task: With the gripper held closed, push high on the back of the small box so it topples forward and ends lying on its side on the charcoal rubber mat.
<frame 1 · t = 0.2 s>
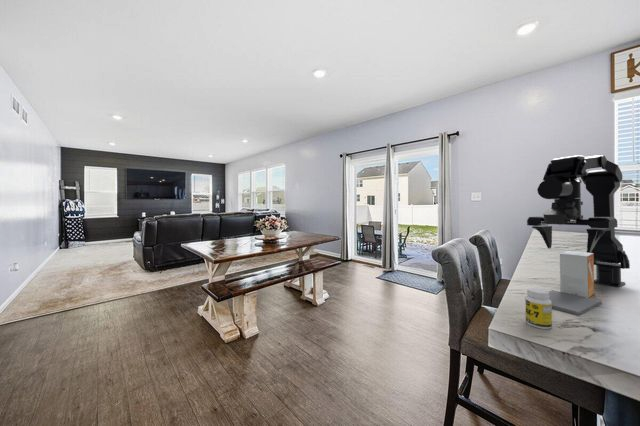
hand: (568, 250, 75), 15 cm above the kitchen island, tool pointing down, fingers open, 9 cm apart
small box: (577, 294, 79), on the kitchen island
mat: (564, 302, 72), on the kitchen island
supplement bottle: (538, 325, 60), on the kitchen island
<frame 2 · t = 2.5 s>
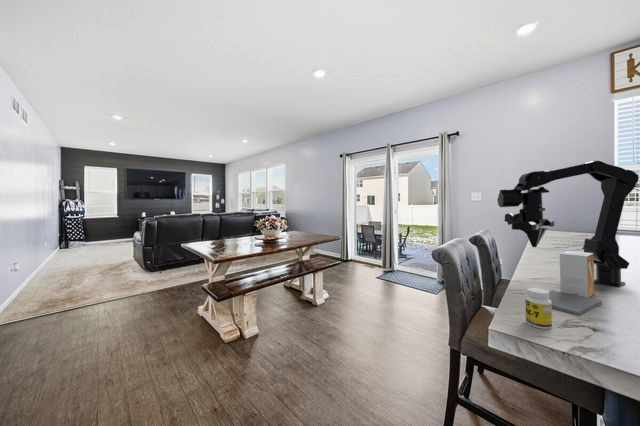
hand: (534, 247, 94), 13 cm above the kitchen island, tool pointing down, fingers closed
nothing on the kitchen island moved.
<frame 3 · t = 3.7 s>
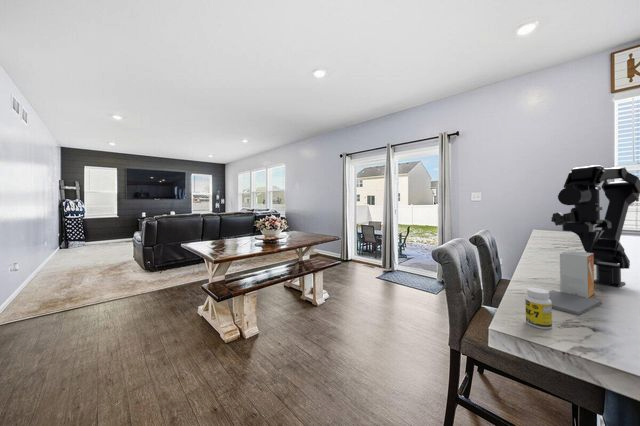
hand: (587, 251, 83), 13 cm above the kitchen island, tool pointing down, fingers closed
nothing on the kitchen island moved.
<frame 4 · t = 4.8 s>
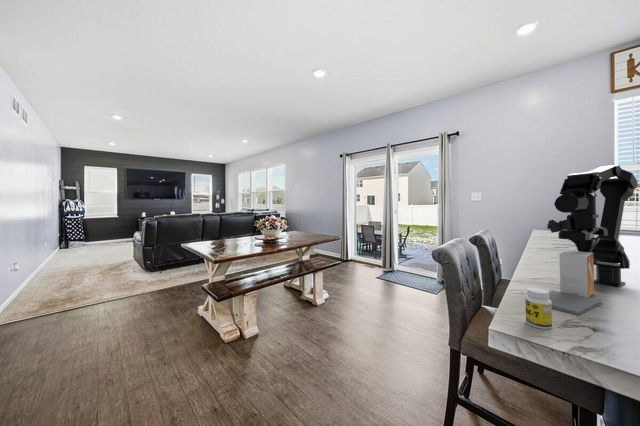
hand: (584, 259, 81), 10 cm above the kitchen island, tool pointing down, fingers closed
small box: (577, 294, 79), on the kitchen island, touching gripper
everything else where it was.
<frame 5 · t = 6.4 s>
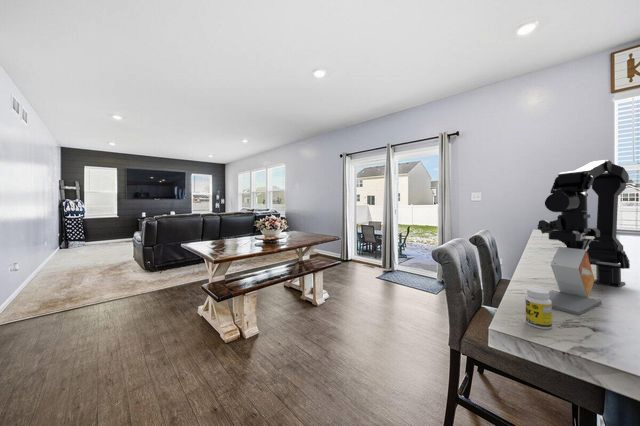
hand: (575, 261, 78), 11 cm above the kitchen island, tool pointing down, fingers closed
small box: (577, 287, 78), point 2 cm above the kitchen island, touching gripper, mat
everything else where it was.
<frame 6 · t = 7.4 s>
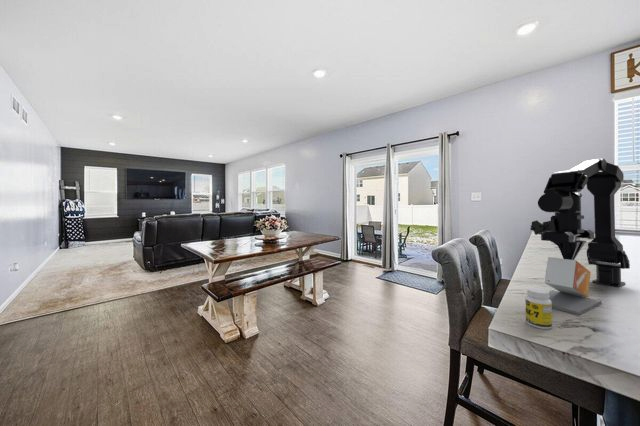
hand: (568, 263, 75), 11 cm above the kitchen island, tool pointing down, fingers closed
small box: (576, 282, 78), point 4 cm above the kitchen island, touching gripper, mat
everything else where it was.
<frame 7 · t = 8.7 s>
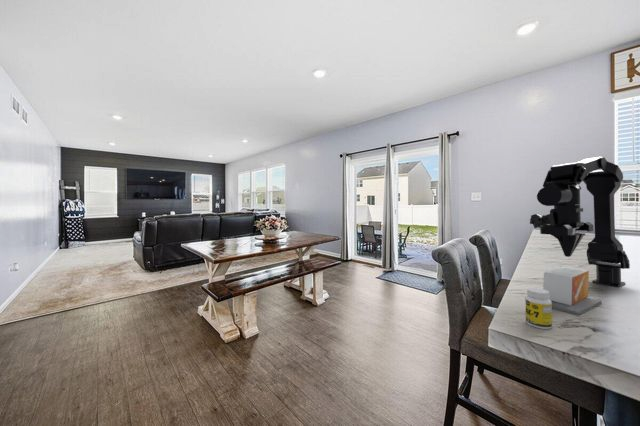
hand: (567, 256, 76), 13 cm above the kitchen island, tool pointing down, fingers closed
small box: (575, 280, 77), point 5 cm above the kitchen island, touching mat
everything else where it was.
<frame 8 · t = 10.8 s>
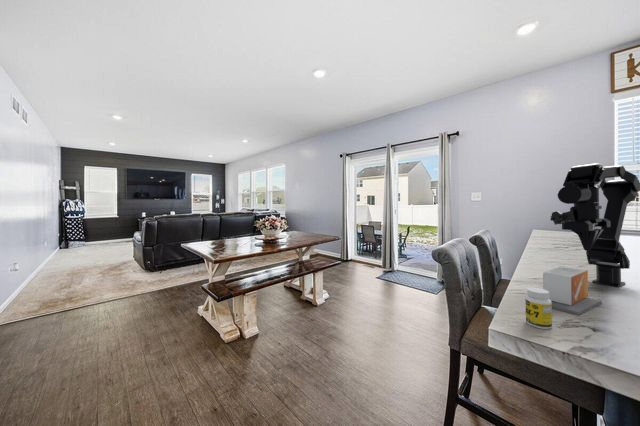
hand: (587, 250, 82), 13 cm above the kitchen island, tool pointing down, fingers closed
nothing on the kitchen island moved.
at the end: small box tilted 90°; small box touching mat; small box inside the target area (3.4 cm from its centre), point 4.9 cm above the kitchen island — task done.
